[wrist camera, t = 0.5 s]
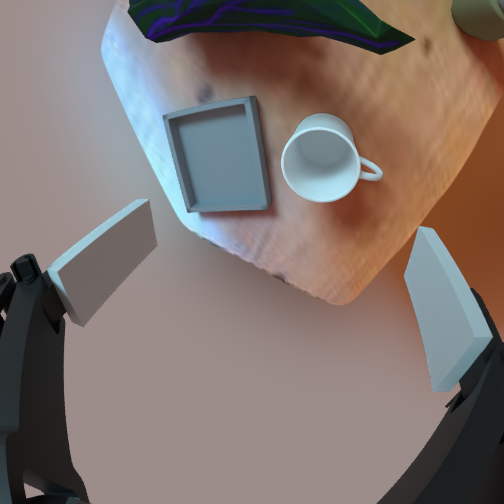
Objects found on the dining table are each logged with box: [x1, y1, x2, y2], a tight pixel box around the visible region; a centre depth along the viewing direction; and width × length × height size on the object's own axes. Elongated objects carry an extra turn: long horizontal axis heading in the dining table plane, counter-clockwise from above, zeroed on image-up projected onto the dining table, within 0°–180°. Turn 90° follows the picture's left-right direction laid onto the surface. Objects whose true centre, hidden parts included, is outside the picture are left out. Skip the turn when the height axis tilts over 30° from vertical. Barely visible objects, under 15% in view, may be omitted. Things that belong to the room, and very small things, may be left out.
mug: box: [281, 113, 383, 203], centre depth 30 cm, size 12×8×12 cm
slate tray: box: [163, 96, 272, 213], centre depth 39 cm, size 14×17×3 cm
